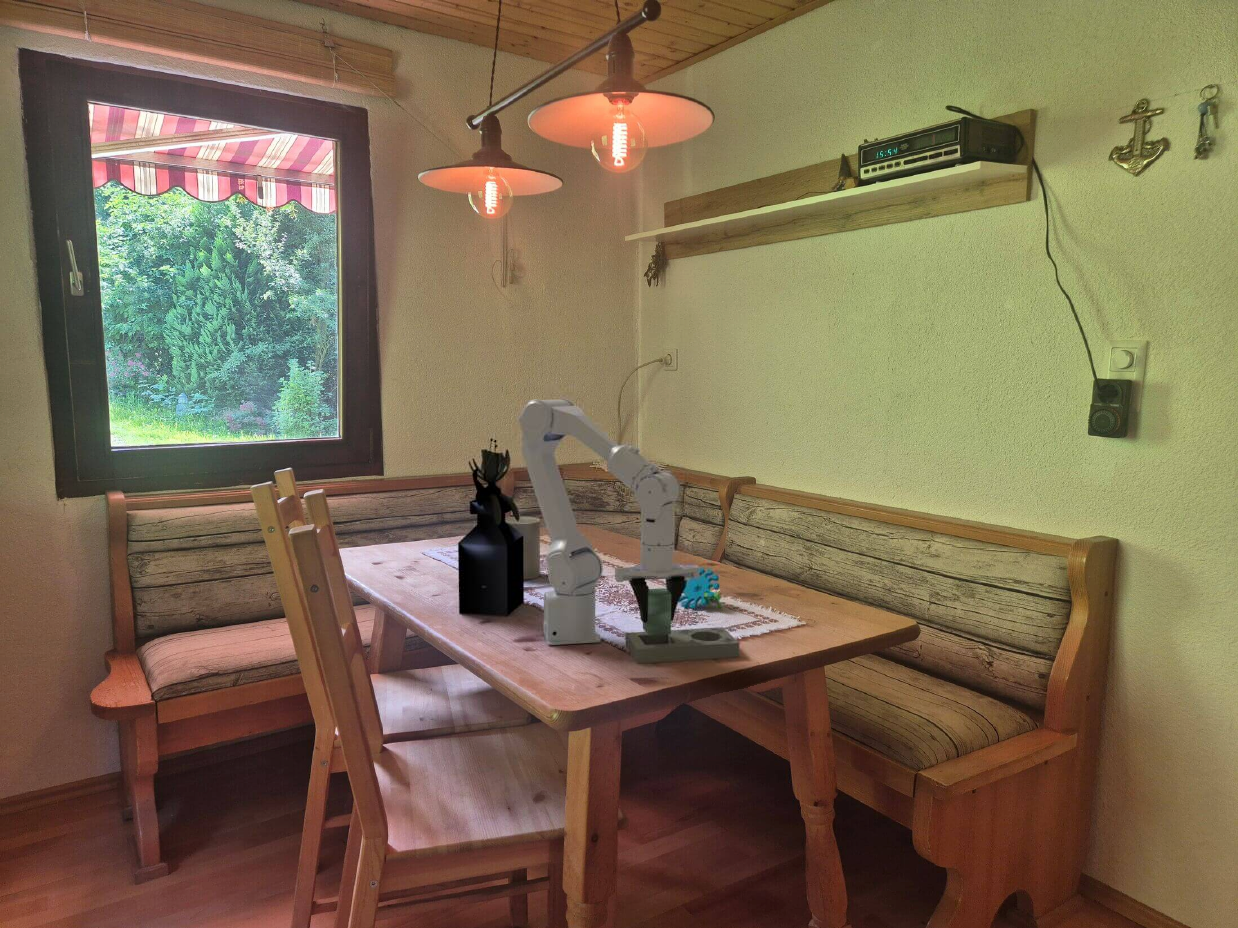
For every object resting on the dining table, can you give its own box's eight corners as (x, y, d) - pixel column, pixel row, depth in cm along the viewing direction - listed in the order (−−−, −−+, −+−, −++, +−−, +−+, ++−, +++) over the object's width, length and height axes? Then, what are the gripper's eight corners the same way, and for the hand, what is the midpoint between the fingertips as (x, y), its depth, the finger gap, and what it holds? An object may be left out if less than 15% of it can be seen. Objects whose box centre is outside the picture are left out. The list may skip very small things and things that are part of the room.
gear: (665, 595, 175) (694, 559, 178) (678, 610, 179) (706, 575, 181) (700, 614, 167) (729, 576, 169) (713, 630, 170) (741, 592, 173)
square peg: (648, 635, 141) (648, 595, 140) (642, 628, 145) (643, 589, 144) (670, 633, 142) (671, 594, 141) (664, 626, 146) (665, 588, 145)
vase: (508, 621, 161) (507, 443, 158) (453, 617, 164) (450, 441, 160) (530, 602, 175) (530, 437, 172) (479, 598, 178) (477, 436, 174)
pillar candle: (493, 574, 200) (492, 513, 198) (529, 569, 205) (528, 509, 203) (510, 582, 192) (510, 519, 190) (547, 577, 197) (547, 515, 195)
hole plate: (636, 663, 138) (637, 649, 138) (625, 646, 147) (625, 632, 147) (739, 656, 142) (739, 642, 142) (722, 640, 151) (722, 627, 150)
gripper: (620, 549, 136) (620, 629, 138) (705, 545, 139) (704, 624, 141) (612, 540, 143) (612, 617, 145) (693, 537, 146) (692, 612, 147)
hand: (656, 620), depth 143 cm, fingers closed on square peg, 4 cm apart
